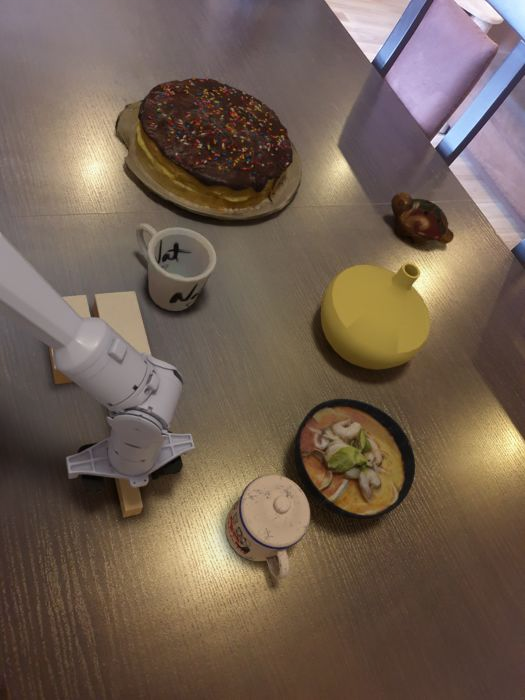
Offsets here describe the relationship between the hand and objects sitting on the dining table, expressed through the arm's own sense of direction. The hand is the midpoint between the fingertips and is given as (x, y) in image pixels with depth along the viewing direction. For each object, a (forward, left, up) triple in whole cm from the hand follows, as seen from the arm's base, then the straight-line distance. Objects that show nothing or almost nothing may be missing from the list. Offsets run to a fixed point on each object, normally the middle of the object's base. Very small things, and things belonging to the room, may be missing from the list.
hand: (125, 478), depth 73 cm
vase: (+43, +17, -2) cm, 47 cm away
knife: (0, +5, -2) cm, 5 cm away
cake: (+29, +62, -2) cm, 68 cm away
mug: (+12, +32, -2) cm, 34 cm away
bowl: (+29, -5, -2) cm, 30 cm away
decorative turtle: (+67, +40, -2) cm, 78 cm away
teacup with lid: (+15, -11, -2) cm, 19 cm away
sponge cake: (0, +22, -2) cm, 22 cm away
